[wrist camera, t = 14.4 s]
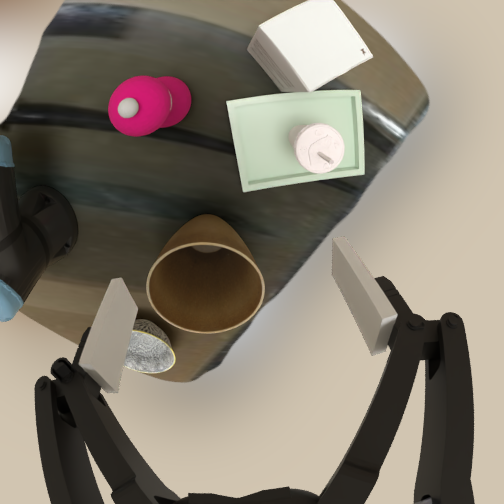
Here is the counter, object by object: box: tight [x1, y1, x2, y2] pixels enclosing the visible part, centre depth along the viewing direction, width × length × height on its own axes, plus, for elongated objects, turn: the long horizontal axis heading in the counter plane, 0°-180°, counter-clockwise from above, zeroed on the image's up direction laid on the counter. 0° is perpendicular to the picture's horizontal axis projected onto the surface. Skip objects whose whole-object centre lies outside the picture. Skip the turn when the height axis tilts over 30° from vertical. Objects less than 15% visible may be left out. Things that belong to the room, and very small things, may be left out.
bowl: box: [124, 319, 175, 373], centre depth 55 cm, size 16×16×8 cm
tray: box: [226, 90, 364, 192], centre depth 38 cm, size 20×14×2 cm
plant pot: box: [146, 214, 265, 333], centre depth 40 cm, size 15×15×16 cm
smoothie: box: [288, 123, 345, 174], centre depth 33 cm, size 6×6×14 cm
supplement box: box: [247, 0, 373, 92], centre depth 26 cm, size 9×9×15 cm
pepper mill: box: [108, 76, 191, 136], centre depth 26 cm, size 7×7×20 cm
